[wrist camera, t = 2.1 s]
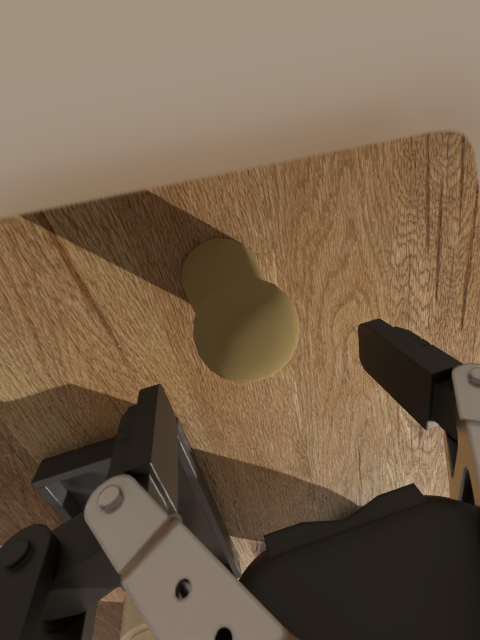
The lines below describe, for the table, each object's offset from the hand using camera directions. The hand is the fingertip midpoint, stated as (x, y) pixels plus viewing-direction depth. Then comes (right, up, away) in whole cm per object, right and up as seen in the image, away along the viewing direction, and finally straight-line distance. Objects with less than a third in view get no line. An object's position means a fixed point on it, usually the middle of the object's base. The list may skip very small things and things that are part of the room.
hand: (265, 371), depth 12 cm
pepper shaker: (-3, +5, +11) cm, 13 cm away
